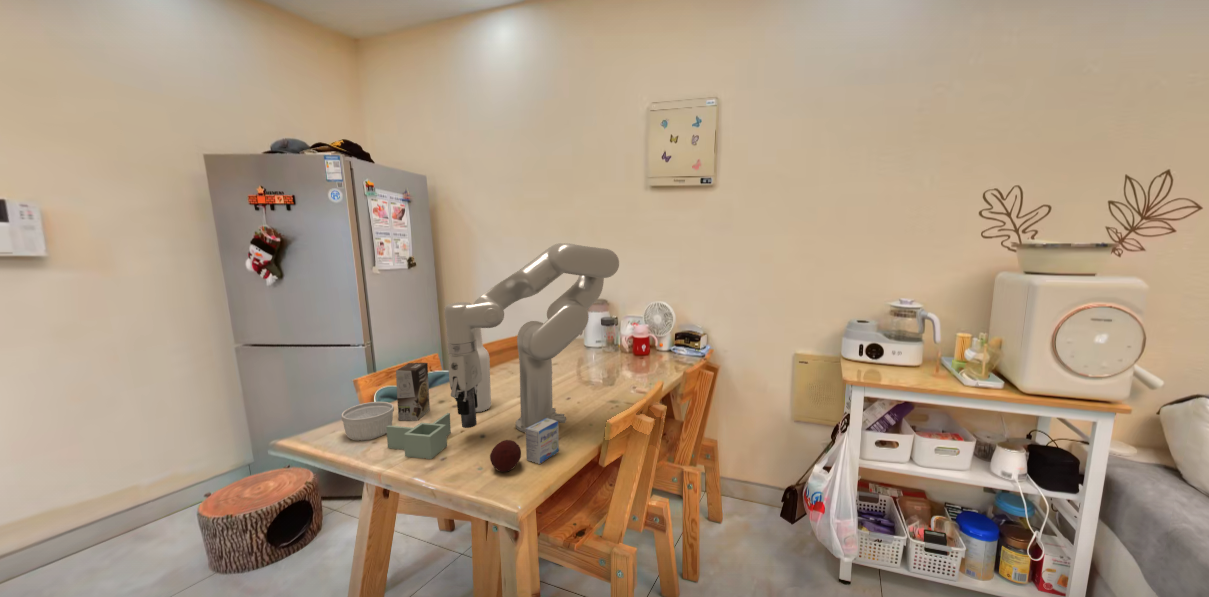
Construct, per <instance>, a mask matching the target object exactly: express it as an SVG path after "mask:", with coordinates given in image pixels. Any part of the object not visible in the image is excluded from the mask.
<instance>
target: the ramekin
mask: <svg viewBox="0 0 1209 597" xmlns="http://www.w3.org/2000/svg"><path fill="white" fill-rule="evenodd" d="M394 410H395V409H394V404H393V403H391V402H387V401H371V402H365V403H360V404H357V405H353V406H351V407H349V408H347V409H345V410H343V412H342V413H341V421H342V422H343V423H342V424H343V428H344V432H345V435H346V437H347V438H349V439H350V440H353V441H359V440H361V441H368V440H369V441H370V440H373V439H377V438H380V437H382V436H384V435H387V428H386V427H387V426H388V425H389V426H393V416H394Z"/></svg>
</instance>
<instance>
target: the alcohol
mask: <svg viewBox="0 0 1209 597" xmlns="http://www.w3.org/2000/svg"><path fill="white" fill-rule="evenodd" d="M481 329H482V328H475V333H476V344H477V351H478V354H479V359H480V365H481V372H482V380H481V382H480V383H479V384H478V386H477V393H476V394H477V403H478V407H477V408H475V410H476V412H479V413H483V412H485V410H486V411H488V410H489V409H490V407H491V406H492V393H491V388H492V387H491V365H490V364H491V363H490V362H491V361H490V354H489V351H488V350H487V349H486V348H485V347H484V344H483V338H482V330H481ZM487 409H488V410H487ZM482 411H483V412H482Z"/></svg>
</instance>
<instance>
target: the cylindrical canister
mask: <svg viewBox="0 0 1209 597" xmlns="http://www.w3.org/2000/svg"><path fill="white" fill-rule="evenodd" d="M459 389H461V388H459ZM460 394H462V395H463V392H460ZM467 400H468V401H469V414H468V415H460V419H461V422H460V423H461V427H462V428H463V429H469V428H474V427H475V426H477V413H476V410H475V398H474V387H473V388H472V389H470V390H469V391H467Z"/></svg>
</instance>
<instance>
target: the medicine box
mask: <svg viewBox="0 0 1209 597" xmlns="http://www.w3.org/2000/svg"><path fill="white" fill-rule="evenodd" d="M559 443H560V442H559V422H558V421H556V420H552V419H548V418H545V419H543V420H541V421H539V422H537V423H536V424H534V425H532V426H530V427H528V428H526V433H525V452H526V455H525V456H526V460H527V461H529V462H531V461H532V463H534V462H535V464H537V463H538V465H541V464H543V463H544V462H546V461H547V460H548V458H549V457H550V458H552V457H553V456H555V455H556V454H558V453H559ZM552 455H553V456H552ZM550 458H549V459H550ZM546 459H547V460H546ZM545 460H546V461H545ZM543 461H544V462H543ZM542 462H543V463H542ZM540 463H541V464H540Z"/></svg>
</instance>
